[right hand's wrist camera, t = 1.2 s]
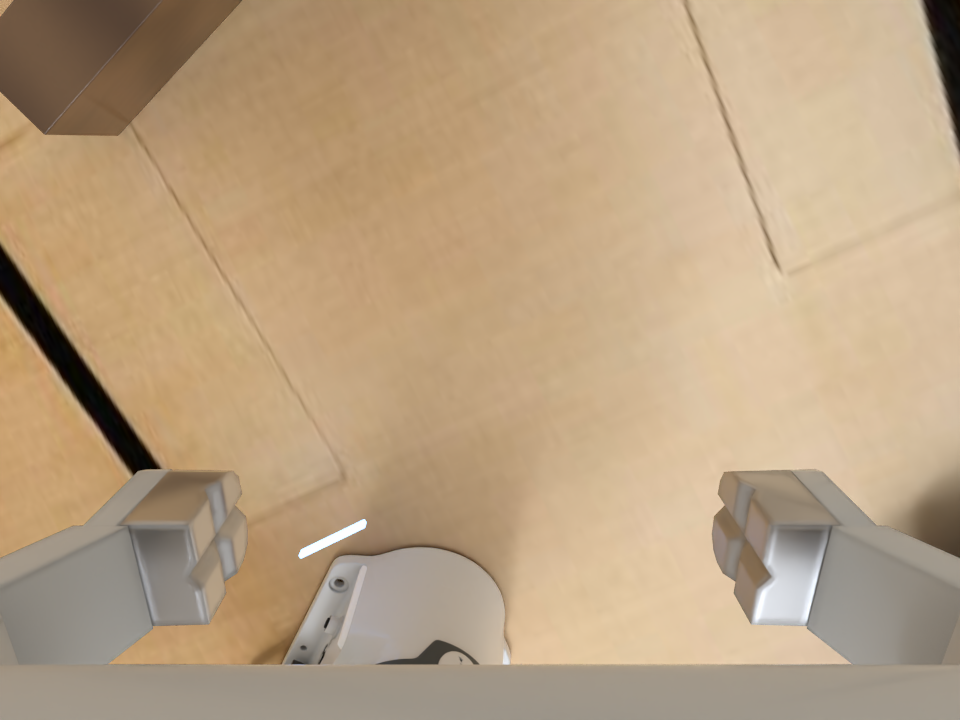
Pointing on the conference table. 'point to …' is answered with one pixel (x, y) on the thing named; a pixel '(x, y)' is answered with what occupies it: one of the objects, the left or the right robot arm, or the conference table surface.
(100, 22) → the beam
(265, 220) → the conference table surface
